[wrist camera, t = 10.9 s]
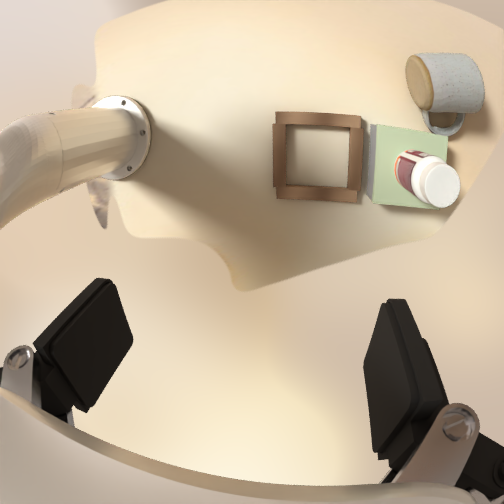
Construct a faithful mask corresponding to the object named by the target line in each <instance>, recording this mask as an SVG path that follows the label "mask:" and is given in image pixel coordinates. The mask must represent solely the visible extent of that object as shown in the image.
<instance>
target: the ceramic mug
mask: <svg viewBox="0 0 504 504" xmlns="http://www.w3.org/2000/svg"><path fill="white" fill-rule="evenodd" d="M406 79H407V84H408V88H409V91H410V94H411V96H412V98H413V100H414V102H415V103H416V104H417V105H418V107H420V108H421V109H422V115H423V119H424V122H425V124H426V126H427V127H428V128H429V129H430V130H431V131H432V132H433V133H434V134H437V135H442V136H451V135H453V134H455V133H456V132H457V131H458V130H459V129H460V127H461V126H462V124H463V121H464V118H465V113H477V112H478V111H479V110H480V109H481V107H482V106H483V102H484V95H485V90H484V82H483V78H482V75H481V72H480V70H479V68H478V66H477V65H476V63H475V62H474V61H473V60H472V59H471V58H470V57H469V56H467V55H465V54H458V53H420V54H415V55H412V56H411V57H409V59H408V60H407V63H406ZM429 111H430V112H455V113H458V114H457V117H456V120H455V122H454V123H453V124H452V125H451V126H450V127H448V128H438V127H436V126H434V127H432V126H431V124H430V121H429Z"/></svg>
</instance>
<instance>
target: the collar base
mask: <svg viewBox="0 0 504 504" xmlns="http://www.w3.org/2000/svg"><path fill="white" fill-rule="evenodd" d="M286 124H306V125H327V126H341V127H350V138H349V165H348V182H347V188H341V187H324V186H303V185H286ZM363 135H364V129H363V128H361V116H356V115H345V114H332V113H314V112H276V124H273V187H276V189H277V199H303V200H324V201H341V202H357V191H360V189H361V176H362V160H363Z"/></svg>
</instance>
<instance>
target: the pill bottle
mask: <svg viewBox="0 0 504 504" xmlns="http://www.w3.org/2000/svg"><path fill="white" fill-rule="evenodd" d="M394 174H395V178H396V180H397V181H398V183H399V184H400V185H401V186H402V187H404V188H405V189H407V190H408V191H409V192H411V193H412V194H413V195H415V196H416V197H417V198H418V199H419V200H421V201H422V202H425V203H428V204H432V205H434V206H436V207H439V208H444V207H448V206H450V205H451V204H452V203H454V202H455V200H456V199H457V197H458V195H459V192H460V179H459V176H458V174H457V172H456V171H455V170H454V169H453V168H452V167H451V166H449V165H447V163H446V162H445V161H444V160H443V159H441V158H439V157H437V156H434V155H431V154H427V153H424V152H421V151H418V150H414V149H408V150H405V151H403V152H402V153H400V154H399V155H398V156H397V158H396V160H395V163H394Z"/></svg>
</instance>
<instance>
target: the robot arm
mask: <svg viewBox="0 0 504 504" xmlns="http://www.w3.org/2000/svg"><path fill="white" fill-rule="evenodd" d="M144 131H145V133H144ZM150 140H151V130H150V125H149V120H148V118H147V115H146V113H145V112H144V110H143V108H142V107H141V106H140V105H139V104H138V103H137V102H136V101H134V100H133V99H131V98H128V97H126V96H109V97H106V98H104V99H102V100H100V101H98V102H97V103H96V104H95V105H94V106H93V107H89V108H78V109H68V110H60V111H52V112H45V113H39V114H32V115H27V116H24V117H21V118H19V119H16V120H14V121H13V122H12V123H10V124H9V125H7V126H6V127H5V128H4V129H3V130H2V131H1V132H0V230H1V229H2V228H3V227H4V226H5V225H6V224H8V223H9V222H10V221H11V220H13V219H14V218H16V217H17V216H19V215H20V214H22V213H23V212H25V211H27V210H28V209H30V208H32V207H34V206H36V205H38V204H40V203H42V202H44V201H46V200H48V199H50V198H52V197H54V196H56V195H58V194H61V193H63V192H65V191H67V190H69V189H71V188H74V187H76V186H78V185H80V184H83V183H85V182H87V181H90V180H92V179H95V178H97V177H99V176H100V177H102V178H104V179H108V180H118V179H123V178H125V177H127V176H129V175H131V174H133V173H134V172H135V171H136V170H137V169H138V168H139V167H140V166H141V165H142V163H143V162H144V160H145V158H146V156H147V154H148V150H149V147H150ZM132 344H133V335H132V333H131V330H130V327H129V324H128V322H127V319H126V316H125V313H124V310H123V307H122V304H121V301H120V298H119V294H118V291H117V288H116V286H115V284H113V282H112V281H111V280H110V279H104V278H96V279H95V280H94V281H93V282H92V283H91V284H90V285H88V286H87V287H86V288H85V289H84V290H83V291H82V292H81V293H80V294H79V295H78V296H77V297H76V298H75V299H74V300H73V301H72V302H71V303H70V304H69V305H68V306H67V307H66V308H65V309H64V310H63V311H62V312H61V313H60V314H59V315H58V316H57V318H56V319H55V320H54V321H53V322H52V323H51V324H50V325H49V326H48V327H47V328H46V329H45V330H44V331H43V333H42V334H41V335H40V336H39V337H38V338H37V339H36V340H35V341H34V342H33V345H34V347H35V348H36V350H37V351H36V352H35V353H34V352H33V350H32V348H31V347H29V346H26V345H23V346H19V347H16V348H15V349H13V350H11V352H10V353H8V355H7V356H6V358H5V361H4V366H3V367H1V368H0V504H504V447H503V446H501V445H499V444H498V443H496V442H495V441H493V440H491V439H489V438H488V437H486V436H484V435H483V434H481V433H480V432H479V429H480V423H479V419H478V417H477V414H476V413H475V412H474V410H473V409H471V408H470V407H469V406H467V405H465V404H461V403H452V404H449V402H448V399H447V396H446V393H445V389H444V386H443V384H442V381H441V378H440V375H439V372H438V369H437V366H436V364H435V361H434V359H433V356H432V353H431V351H430V348H429V346H428V343H427V341H426V340H425V339H424V338H422V337H421V334H420V332H419V330H418V327H417V325H416V322H415V320H414V318H413V315H412V313H411V311H410V308H409V306H408V304H407V302H406V300H405V299H388V300H387V302H386V303H382V305H381V307H380V311H379V314H378V318H377V321H376V325H375V328H374V332H373V335H372V338H371V341H370V345H369V348H368V351H367V353H366V357H365V359H364V366H363V369H364V376H365V384H366V391H367V399H368V407H369V416H370V426H371V437H372V449H373V452H374V453H376V452H378V460H384V459H388V460H389V467H390V468H391V469H390V470H389V471H388V472H387V474H386V475H385V476H384V478H383V479H382V480H381V481H380V482H379V484H367V485H366V484H365V485H348V486H304V485H284V484H271V483H261V482H252V481H245V480H238V479H232V478H226V477H221V476H216V475H211V474H206V473H201V472H197V471H193V470H188V469H184V468H181V467H177V466H173V465H170V464H166V463H163V462H159V461H157V460H153V459H150V458H147V457H144V456H141V455H138V454H136V453H133V452H130V451H128V450H125V449H122V448H120V447H117V446H115V445H112V444H110V443H107V442H105V441H103V440H101V439H98V438H96V437H94V436H92V435H89V434H87V433H85V432H83V431H81V430H79V429H77V428H75V426H74V421H73V414H72V406H73V405H74V406H75V407H76V408H77V409H79V410H81V411H83V412H85V413H87V412H88V410H89V408H90V407H93V406H94V405H95V403H96V401H97V400H98V398H99V396H100V394H101V393H102V392H103V390H104V388H105V387H106V385H107V384H108V382H109V380H110V379H111V377H112V376H113V374H114V372H115V371H116V369H117V368H118V366H119V365H120V363H121V361H122V360H123V358H124V357H125V355H126V354H127V352H128V350H129V349H130V347H131V346H132Z"/></svg>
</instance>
